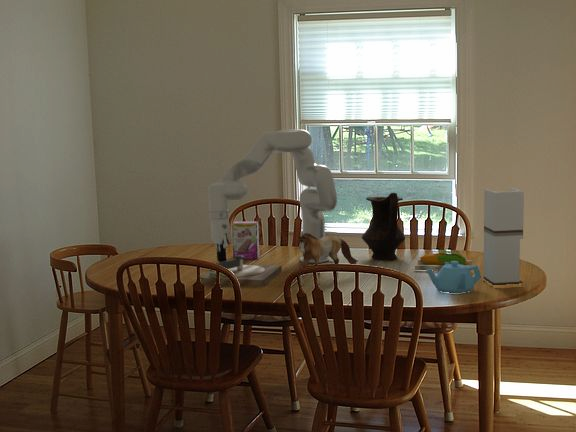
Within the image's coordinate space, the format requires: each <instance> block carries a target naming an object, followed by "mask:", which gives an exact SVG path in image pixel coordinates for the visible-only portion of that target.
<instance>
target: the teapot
mask: <svg viewBox="0 0 576 432" xmlns="http://www.w3.org/2000/svg"><path fill="white" fill-rule="evenodd" d="M470 271H471V273H470ZM472 271H473V273H474V275H472ZM426 273H427V274H428V277H429V278H430V280H431V282H432V284H433V285H434V287H435V288H436V290H437V291H438V290H439V291H442V292H449V293H462V292H468V291H471V290H473V289H474V287H475V284H477V283H478V282H479V281H480V280H481V279H482V278H483V277H482V275H481V272H480V269H479V266H478V265H477V264H475V265H473V264H472V266H469V267H466V266H465V265H461V264H458V261H451V264H449V262H445V265H444V266H443V267H442V268H441V269H440V271H439V272H437V275H436V274H435V272H433V271H432V270H431V269H427V272H426ZM439 291H438V292H439ZM471 292H472V291H471Z"/></svg>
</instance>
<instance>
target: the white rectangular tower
mask: <svg viewBox="0 0 576 432" xmlns="http://www.w3.org/2000/svg"><path fill="white" fill-rule="evenodd" d="M483 191H484V193H483V194H484V196H483V279H485V280H486V281H488V282H489V283H491V284H492V285H506V284H519V283H522V284H523V281H522V280H521V279H520V269H521V268H520V265H521V264H520V263H521V261H520V259H521V254H520V253H521V250H520V249H521V240H523V239H524V208H525V206H524V205H525V203H524V201H525V200H524V199H525V196H524V195H525V191H523V190H522V189H521V190H520V189H518V188H515V187H509V191H495V190H490V189H488V188H484V189H483Z"/></svg>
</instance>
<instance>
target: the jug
mask: <svg viewBox="0 0 576 432" xmlns="http://www.w3.org/2000/svg"><path fill="white" fill-rule="evenodd" d="M365 200H367V201H370V204H371V209H372V215H371V216H372V221H371V223H370V226H369V227H368V228H367V229H366V231H365V232H363V234H362V236H361V239H362V241H363V242H364V243H365V244H366V245H367V247H368V248H369V249H370V250H371V251H372V255H371V259H372V260H375V261H380V262H381V261H383V262H384V261H385V262H386V261H387V262H388V261H396V260H398V256H397V254H396V250H397V249H398V248H399V247H400V246H401V244H402V243H403V242H404V241H405V240H406V236H405V234H404V232H403V231H402V229H401V227H400V226H399V225H398V216H399V215H398V213H399V210H398V209H399V201H403V200H404V199H403V197H400V196H398V193H397V192H390V193H389V194H388V195H387V196H367V197H365Z"/></svg>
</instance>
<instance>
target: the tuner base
mask: <svg viewBox="0 0 576 432" xmlns="http://www.w3.org/2000/svg"><path fill="white" fill-rule="evenodd" d="M229 270H230V271H232V272H233V273H234V274H235V276H236V277H237V279H238V281H239V283H240V285H241V286H242V287H265V286H266V285H267V284H268V283H270V282H271V281H272V280H273V279H274V278H276V277H277V276H278V275H279V274H281V271H283V270H282V265H280V264H278V265H277V264H274V265H273V264H244V263H243V270H237V267H234V268H230V269H229ZM199 276H200V279H201V282H202V283H203V284H202V285H204V286H205V285H207V286H208V285H210V286H212V285H214V286H216V285H215V283H216V272H215V271H212V270H209V269H208V270H207V271H205V272H204V273H202V274H201V275H199ZM219 286H233V285H232V283H231V281H230V279H229V278H228V277H226V276H225V275H223V274H221V273H220V285H219ZM241 286H240V287H241Z"/></svg>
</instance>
